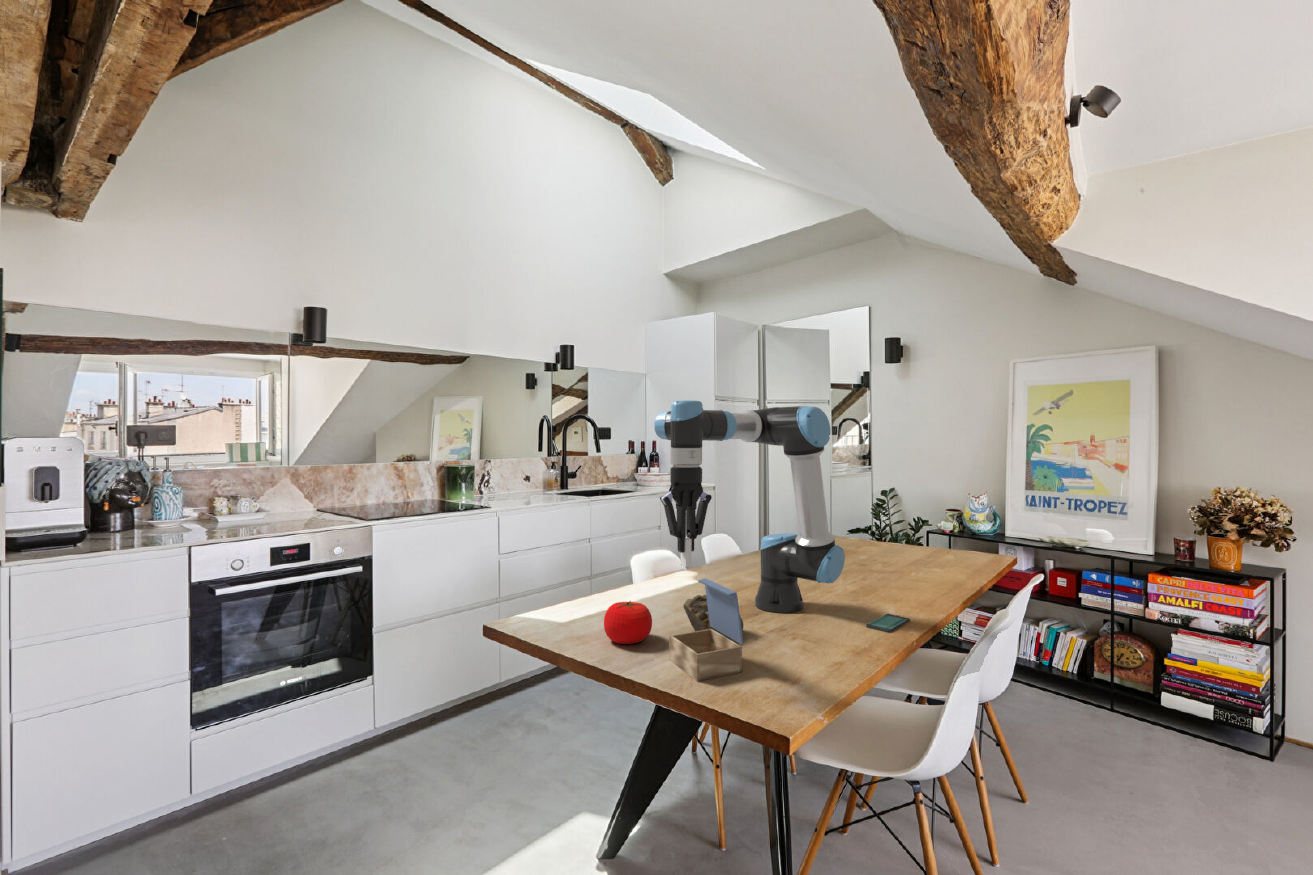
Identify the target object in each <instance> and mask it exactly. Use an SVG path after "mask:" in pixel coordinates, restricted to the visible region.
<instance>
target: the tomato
mask: <svg viewBox="0 0 1313 875" xmlns="http://www.w3.org/2000/svg"><path fill="white" fill-rule="evenodd" d="M652 628H653V617H652V614H651V611H650V609H649V608H648V606H646V605H645V604H643V603H642V602H635V601H632V600H629V601H619V602H618V601H617V602H614V603H612V605H610V606H609V607H608V608H607V610H606V612H605V614H604V618H603V629H604V632H605V634H606V636H607V638H608V639H609V640H611V641H612V642H614V643H616V644H621V645H631V644H636V643H640V642H641V641H643V640H645V639H647V637H648V636H649V635H650V634H651V632H652Z"/></svg>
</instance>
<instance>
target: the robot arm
mask: <svg viewBox="0 0 1313 875" xmlns="http://www.w3.org/2000/svg"><path fill="white" fill-rule="evenodd" d="M703 406H704V405H703V403H702V402H701V401H699V400H692V399H691V400H687V399H685V400H675V401H673V402H672V403H671V406H670V408H671V409H670V410H668V411H664V412H663V411H662V412H660V413H658V414H657V415H656V417H655V420H654V424H653V425H654V426H653V427H654V432H655V434H656V436H657V437H658V438H660V440H668V441H670V464H671V465H672V466H671V467H670V473H669V474H670V478H669V480H670V487H669V488H668V493H666V494H665V495H661V496H660V498H659V500H660V502H661V503H662V505H663V509H664V513H665V517H666V522H667V526H668V532H669V534H670V536H673V537H676V538H677V547H676V548H677V552H678V553H680V559H679V560H680V562H679V563H680V566H682V567H684V568H689V567H690V568H691V567H692V552H694V551H695V539H697V538H698V536H701V535H702V534H703V531H704V526H705V520H706V517H707V512H708V511H707V510H708V507H709V504H710V502H711V500H712V499H713V496H712V495H711V494H708V493H706V492H705V491H704V487H703V486H702V482H703V468H702V467H701V465H702V464H703V441H711V442H712V441H715V442H716V441H717V442H719V441H720V442H723V441H727V440H741V441H743V442H745V443H755V444H756V443H757V444H763V445H770V446H779V447H782V448H783V453H784V455H785V456H786V457H787V458H789V461H790V468H791V469H790V470H791V475H792V476H791V477H792V485H793V492H794V500H795V501H794V502H795V509H796V518H797V524H798V534H796V533H791V532H790V533H789V532H787V533H773V534H769V535H765V536H763V537H762V538H761V540H760V548H759V550H760V583H759V586H758V589H757V592H756V595H755V599H754V604H755V607H756V608H758V609H760V610H763V611H766V612H770V613H771V612H772V613H779V614H781V613H782V614H783V613H784V614H785V613H786V614H788V613H795V612H799V611H802V610H803V609H804V599H803V597H802V593H801V589H800V586H799V582H798V581H799V580H798V579H800V580H807V581H812V582H817V583H818V584H821V583H822V584H833V583H835V582H836V581H837V580H838V579H839V578H840V576H841V575H842V572H843V569H844V567H845V566H844V565H845V558H846V556H845V551H844V550H845V549H843V547H842V546H840V545H838V544H836V540H835V536H834V534H833V533H831V532H829V524H828V517H827V516H828V515H827V514H828V513H827V509H826V508H827V507H826V499H825V488H824V482H823V481H824V480H823V474H822V466H821V465H822V464H821V458H820V457H821V455H822V453H823V452H824V451H825V446H826V445H827V444H828V443H829V441H830V439H831V437H830V436H831V423H830V419H829V417H828V416H827V414H826V413H825V411H823V410H822V409H821V408H820V407H817V406H808V405H797V406H796V405H795V406H781V407H780V406H778V407H777V406H775V407H774V406H773V407H767V408H762V409H753V410H749V409H748V410H744V411H742V412H740V413H739V412H738V413H737V412H729V411H728V410H726V411H725V410H722V409H720V410H719V409H715V410H714V409H713V410H712V409H709V410H708V409H704V407H703ZM673 501H674V502H675V507H674V505H673ZM698 501H699V502H698ZM697 502H698V504H697ZM675 509H676V511H675ZM675 513H676V514H675Z"/></svg>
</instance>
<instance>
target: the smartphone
mask: <svg viewBox="0 0 1313 875" xmlns="http://www.w3.org/2000/svg"><path fill="white" fill-rule="evenodd" d="M909 622H911V618H909V617H904V616H900V615H897V614H896V615H895V614H891V613H886V614H884V615H882V616H879V617H877V618H875V619H874V620H872V621H870V622H868V623H865V628H867V629H871V630H874V631H879V632H883V633H887V634H888V633H889V634H890V633H893V632H895V631H896V630H897V629H900V628H901V627H903V626H904V625H906V624H908V623H909Z"/></svg>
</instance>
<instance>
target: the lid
mask: <svg viewBox="0 0 1313 875" xmlns="http://www.w3.org/2000/svg"><path fill="white" fill-rule="evenodd" d="M698 583H699V584H701V585H703V586H704V588H705V595H706V598H707V606H708V614H709V622H710V626H711V627H712V628H714V629H716V630H718V631H719V632H721V633H723V634H724V635H726V636H728V637H730V638H731V639H730V640H732V641H735V643H737V644H738V643H739V645H743V644H744V640H743V639H744V638H743V632H742V630H741V622H740V616H741V615H740V614H741V613H740V606H739V599H738V598H739V597H738V593H737V591H735V590H732V589H730V588H728V587H726V586H723V585H722V584H719V583H716V582H715V581H713V580H710V579H709V578H701V579H699V580H698Z"/></svg>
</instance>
